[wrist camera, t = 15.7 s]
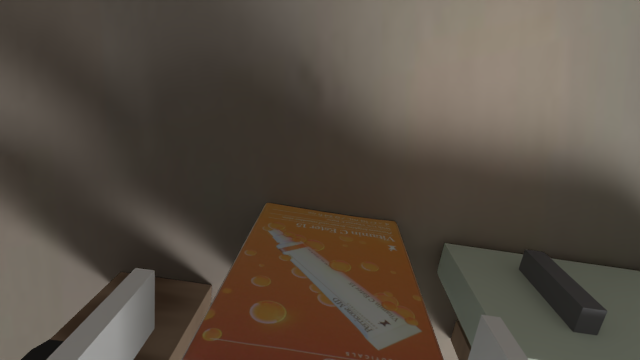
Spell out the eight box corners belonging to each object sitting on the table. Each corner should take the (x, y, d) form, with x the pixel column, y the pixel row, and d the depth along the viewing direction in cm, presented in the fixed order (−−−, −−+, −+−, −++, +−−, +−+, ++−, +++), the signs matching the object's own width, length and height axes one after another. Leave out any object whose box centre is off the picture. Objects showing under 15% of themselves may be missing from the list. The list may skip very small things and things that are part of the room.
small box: (397, 218, 23) (470, 409, 10) (377, 308, 25) (418, 560, 12) (263, 198, 23) (173, 364, 10) (253, 289, 25) (167, 522, 12)
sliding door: (436, 272, 23) (495, 397, 14) (449, 224, 22) (519, 328, 13) (700, 310, 23) (917, 459, 14) (723, 263, 22) (972, 393, 13)
